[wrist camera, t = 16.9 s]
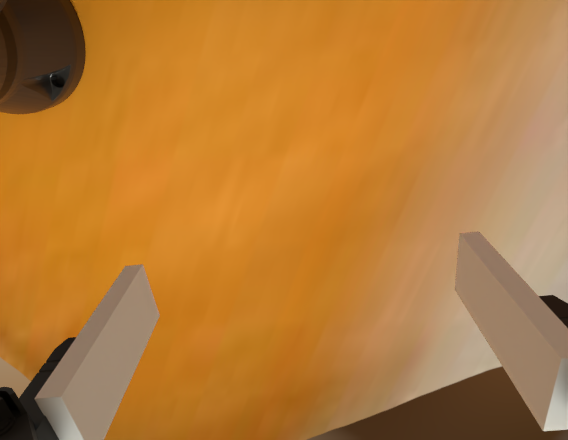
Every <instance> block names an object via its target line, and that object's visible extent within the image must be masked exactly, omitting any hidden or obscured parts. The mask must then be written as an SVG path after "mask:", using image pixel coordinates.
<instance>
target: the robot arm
mask: <svg viewBox="0 0 568 440" xmlns="http://www.w3.org/2000/svg"><path fill="white" fill-rule="evenodd" d="M84 64H85V42H84V36H83V32H82V28H81V25H80V22H79V19H78V17H77V14H76V12H75V10H74V8H73V6H72V4H71V3H70V1H69V0H0V112H4V113H10V114H29V113H35V112H39V111H42V110H45V109H48V108H51V107H54V106H56V105H58V104H60V103H61V102H63V101H64V100H65V99H67V98H68V97H69V96H70V95H71V94H72V92H73V91H74V90H75V88H76V87H77V85H78V83H79V81H80V79H81V76H82V73H83V69H84ZM455 291H456V292H457V294H458V295H459V297H460V299H461V300H462V302H463V303H464V305H465V307H466V308H467V310H468V311H469V313H470V315H471V316H472V318H473V319H474V321H475V323H476V324H477V326H478V327H479V329H480V331H481V332H482V334H483V335H484V337H485V339H486V340H487V342H488V343H489V345H490V347H491V348H492V350H493V351H494V353H495V355H496V356H497V358H498V359H499V361H500V363H501V364H502V366H503V367H504V369H505V371H506V372H507V374H508V375H509V377H510V379H511V380H512V382H513V383H514V385H515V387H516V388H517V390H518V391H519V393H520V395H521V396H522V398H523V399H524V401H525V403H526V404H527V406H528V408H529V409H530V411H531V412H532V414H533V416H534V417H535V418H536V420H537V422H538V423H539V425H540V427H541V428H542V430H543V431H551V430H566V429H568V303H566V302H564V301H562V300H561V299H559V298H557V297H555V296H554V295H548V296H538V295H537V294H536V293H535V292H534V291H533V290H532V289H531V288H530V287H529V286H528V284H527V283H526V282H525V281H524V280H523V279H522V278H521V277H520V276H519V275H518V274H517V272H516V271H515V270H514V269H513V268H512V267H511V266H510V265H509V264H508V263H507V262H506V260H505V259H504V258H503V257H502V256H501V255H500V254H499V253H498V252H497V251H496V250H495V248H494V247H493V246H492V245H491V244H490V243H489V242H488V241H487V240H486V239H485V238H484V236H483V235H482V234H481V233H480V232H470V233H459V245H458V257H457V269H456V281H455ZM159 316H160V315H159V312H158V309H157V306H156V303H155V300H154V297H153V294H152V291H151V288H150V285H149V282H148V279H147V276H146V273H145V270H144V267H143V265H133V266H125V267H124V269H123V270H122V272H121V273H120V275H119V276H118V278H117V279H116V281H115V282H114V283H113V285H112V286H111V288H110V289H109V291H108V292H107V294H106V295H105V297H104V298H103V299H102V301H101V302H100V304H99V305H98V307H97V308H96V310H95V311H94V313H93V314H92V316H91V317H90V318H89V320H88V321H87V323H86V324H85V326H84V327H83V329H82V330H81V332H80V333H79V334H78V336H77V337H73V338H68V339H66V340H65V341H64V342H63V343H62V344H60V345H59V346H58V347H57V348H56V349H55V350H54V351H53V352H52V354H51V355H50V357H49V358H48V359H47V361H46V363H44V365H43V366H42V367H41V369H40V370H39V373H37V374H36V376H35V377H34V378H33V380H32V381H31V383H30V384H29V386H28V387H27V388H26V389H25V391H24V392H23V394H22V395H21V396H20V398H19V399H18V397H17V395H16V394H15V392H14V391H13V389H12V388H8V387H1V388H0V440H104V438H105V436H106V433H107V431H108V429H109V427H110V425H111V422H112V420H113V418H114V416H115V414H116V411H117V409H118V407H119V405H120V402H121V400H122V398H123V396H124V394H125V391H126V389H127V387H128V385H129V382H130V380H131V378H132V376H133V374H134V371H135V369H136V367H137V365H138V363H139V360H140V358H141V356H142V354H143V351H144V349H145V347H146V345H147V343H148V340H149V338H150V336H151V334H152V331H153V329H154V327H155V325H156V323H157V320H158V318H159Z"/></svg>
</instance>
